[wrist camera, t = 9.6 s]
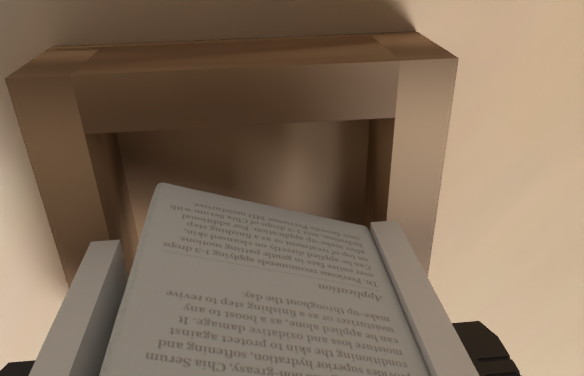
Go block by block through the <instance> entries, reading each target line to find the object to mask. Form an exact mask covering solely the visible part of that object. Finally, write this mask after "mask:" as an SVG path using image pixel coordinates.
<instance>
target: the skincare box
mask: <svg viewBox="0 0 584 376" xmlns="http://www.w3.org/2000/svg"><path fill="white" fill-rule="evenodd" d="M99 376H430V374H429V372H428V369H427V367H426V365H425V362H424V360H423V357H422V355H421V353H420V350H419V348H418V345H417V343H416V341H415V338H414V336H413V333H412V331H411V329H410V326H409V324H408V321H407V319H406V316H405V314H404V312H403V309H402V307H401V305H400V302H399V300H398V297H397V295H396V292H395V290H394V288H393V285H392V283H391V281H390V278H389V276H388V273H387V271H386V269H385V266H384V264H383V261H382V259H381V257H380V254H379V252H378V249H377V247H376V245H375V242H374V240H373V238H372V235H371V233H370V231H369V229H368V228H367V227H366V226H363V225H358V224H353V223H348V222H344V221H339V220H334V219H329V218H325V217H320V216H315V215H311V214H306V213H301V212H296V211H292V210H287V209H282V208H278V207H273V206H269V205H264V204H259V203H255V202H250V201H245V200H241V199H236V198H231V197H227V196H222V195H218V194H213V193H209V192H204V191H199V190H194V189H190V188H185V187H181V186H176V185H172V184H168V183H159V184H158V185H157V186H156V188H155V191H154V194H153V197H152V200H151V203H150V206H149V210H148V213H147V217H146V220H145V224H144V227H143V230H142V234H141V237H140V240H139V244H138V247H137V251H136V254H135V258H134V261H133V265H132V268H131V271H130V275H129V278H128V282H127V285H126V289H125V292H124V295H123V298H122V301H121V304H120V307H119V311H118V314H117V317H116V321H115V324H114V327H113V330H112V334H111V337H110V340H109V344H108V347H107V350H106V354H105V357H104V361H103V364H102V367H101V371H100V374H99Z"/></svg>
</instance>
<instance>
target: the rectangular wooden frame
mask: <svg viewBox="0 0 584 376" xmlns="http://www.w3.org/2000/svg"><path fill="white" fill-rule="evenodd" d="M457 65H458V57H456V56H454V55H453V54H451V53H450V52H448V51H447V50H445V49H443V48H442V47H440V46H439V45H437V44H436V43H434V42H432V41H431V40H429V39H428V38H426V37H425V36H423V35H421V34H420V33H418V32H403V33H378V34H354V35H329V36H305V37H281V38H256V39H232V40H207V41H183V42H158V43H134V44H109V45H85V46H60V47H51V48H50V49H48V50H47V51H45V52H44V53H42V54H41V55H39V56H38V57H36V58H35V59H33V60H32V61H30V62H29V63H27V64H26V65H24V66H23V67H21V68H20V69H18V70H17V71H15V72H14V73H12V74H11V75H9V76H8V77H6V78H5V80H6V83H7V87H8V90H9V93H10V97H11V100H12V103H13V106H14V110H15V113H16V116H17V119H18V123H19V126H20V129H21V132H22V136H23V139H24V142H25V145H26V149H27V152H28V155H29V158H30V162H31V165H32V168H33V171H34V175H35V178H36V181H37V184H38V188H39V191H40V194H41V197H42V201H43V204H44V207H45V210H46V214H47V217H48V220H49V223H50V227H51V230H52V233H53V237H54V240H55V243H56V246H57V250H58V253H59V256H60V259H61V263H62V266H63V269H64V272H65V276H66V279H67V282H68V285H69V288H70V286H71V283H72V281H73V279H74V277H75V275H76V273H77V270H78V268H79V266H80V264H81V262H82V260H83V258H84V255H85V253H86V251H87V249H88V247H89V245H90V243H91V242H94V241H108V240H120V243H121V247H122V252H123V256H124V261H125V265H126V269H127V274H128V278H129V275H130V271H131V268H132V265H133V261H134V258H135V254H136V251H137V247H138V244H139V240H140V237H141V234H142V230H143V227H144V224H145V220H146V217H147V213H148V210H149V206H150V203H151V200H152V197H153V194H154V191H155V188H156V186H157V185H158V184H159V183H168V184H172V185H176V186H181V187H185V188H190V189H194V190H199V191H204V192H209V193H213V194H218V195H222V196H227V197H231V198H236V199H241V200H245V201H250V202H255V203H259V204H264V205H269V206H273V207H278V208H282V209H287V210H292V211H296V212H301V213H306V214H311V215H315V216H320V217H325V218H329V219H334V220H339V221H344V222H348V223H353V224H358V225H363V226H366V227H367V228H368V229H369V231H370V226H371V222H381V221H396V220H397V221H398V223H399V224H400V226H401V228H402V230H403V232H404V234H405V236H406V238H407V240H408V241H409V243H410V245H411V247H412V249H413V251H414V253H415V255H416V257H417V259H418V260H419V262H420V264H421V266H422V268H423V270H424V272H425V274H426V276H427V277H428V271H429V264H430V257H431V249H432V242H433V235H434V228H435V221H436V214H437V207H438V200H439V193H440V186H441V179H442V172H443V164H444V157H445V150H446V143H447V136H448V129H449V122H450V115H451V108H452V101H453V94H454V87H455V79H456V72H457Z"/></svg>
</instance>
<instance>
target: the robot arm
mask: <svg viewBox="0 0 584 376" xmlns="http://www.w3.org/2000/svg"><path fill="white" fill-rule="evenodd" d="M370 233H371V235H372V238H373V240H374V242H375V245H376V247H377V249H378V252H379V254H380V257H381V259H382V261H383V264H384V266H385V269H386V271H387V273H388V276H389V278H390V281H391V283H392V285H393V288H394V290H395V292H396V295H397V297H398V300H399V302H400V305H401V307H402V309H403V312H404V314H405V316H406V319H407V321H408V324H409V326H410V329H411V331H412V333H413V336H414V338H415V341H416V343H417V345H418V348H419V350H420V353H421V355H422V357H423V360H424V362H425V365H426V367H427V369H428V372H429V374H430V376H520V373H519V370H518V368H517V367H516V365H515V363H514V362H513V360H511V359H510V355H509V354H508V352H507V351H506V349H505V347H504V346H503V344H502V343H501V341H500V339H499V338H498V336H496V335H495V334H494V333H493V332H492V331H490V330H489V329H488V328H487V327H486V326H484V325H483V324H482V323H481V322H480V321H474V322H462V323H451V321H450V319H449V317H448V315H447V313H446V312H445V310H444V308H443V306H442V304H441V302H440V300H439V298H438V296H437V294H436V293H435V291H434V289H433V287H432V285H431V283H430V281H429V279H428V277H427V276H426V274H425V272H424V270H423V268H422V266H421V264H420V262H419V260H418V259H417V257H416V255H415V253H414V251H413V249H412V247H411V245H410V243H409V241H408V240H407V238H406V236H405V234H404V232H403V230H402V228H401V226H400V224H399V223H398V221H397V220H396V221H381V222H371V226H370ZM127 282H128V274H127V269H126V265H125V261H124V256H123V252H122V247H121V243H120V240H108V241H94V242H91V243H90V245H89V247H88V249H87V251H86V253H85V255H84V258H83V260H82V262H81V264H80V266H79V268H78V270H77V273H76V275H75V277H74V279H73V281H72V283H71V286H70V288H69V290H68V292H67V294H66V296H65V298H64V301H63V303H62V305H61V307H60V309H59V311H58V313H57V316H56V318H55V320H54V322H53V324H52V326H51V329H50V331H49V333H48V335H47V337H46V339H45V341H44V344H43V346H42V348H41V350H40V352H39V354H38V356H37V359H36V360H34V361H23V362H11V363H8V364H7V365H6V366H5V367H4V368H3V369H2V370H1V371H0V376H99V374H100V371H101V367H102V364H103V361H104V357H105V354H106V350H107V347H108V344H109V340H110V337H111V334H112V330H113V327H114V324H115V321H116V317H117V314H118V311H119V307H120V304H121V301H122V298H123V295H124V292H125V289H126V285H127Z"/></svg>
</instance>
